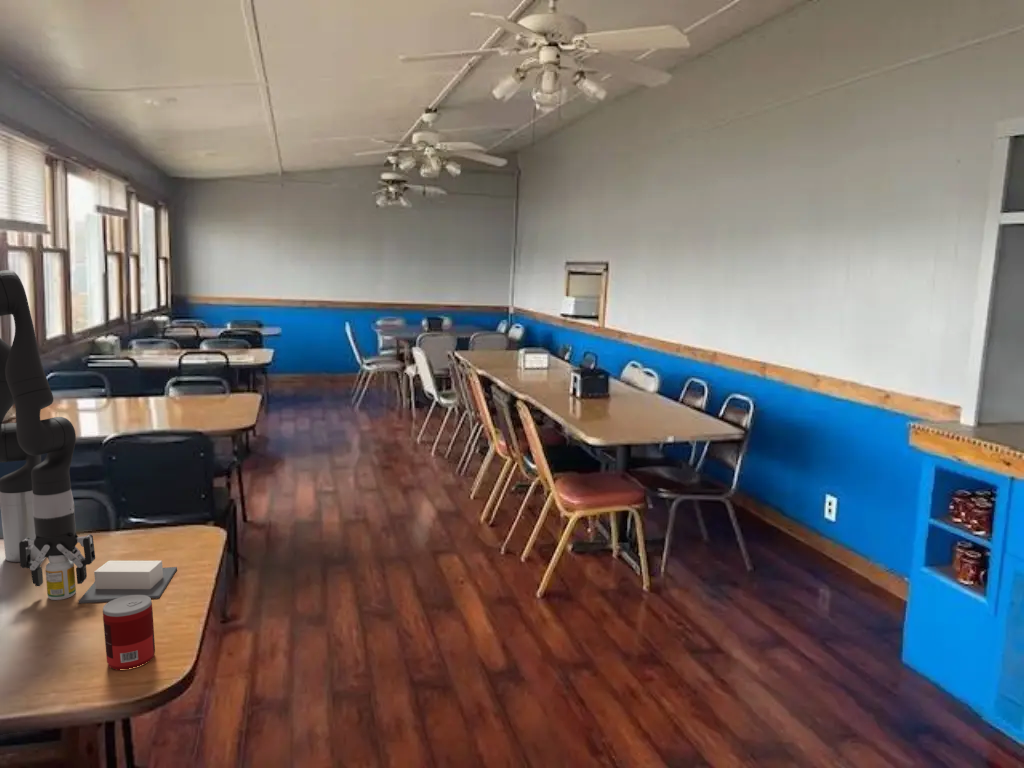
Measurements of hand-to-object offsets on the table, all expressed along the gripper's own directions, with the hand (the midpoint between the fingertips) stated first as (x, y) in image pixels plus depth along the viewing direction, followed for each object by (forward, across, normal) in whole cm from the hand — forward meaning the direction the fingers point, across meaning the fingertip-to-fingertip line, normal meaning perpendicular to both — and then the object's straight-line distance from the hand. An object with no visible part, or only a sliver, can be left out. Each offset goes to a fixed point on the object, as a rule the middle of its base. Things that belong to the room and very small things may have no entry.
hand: (60, 583), depth 167 cm
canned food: (+3, +23, -32) cm, 39 cm away
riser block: (+2, +13, +3) cm, 14 cm away
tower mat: (+3, +13, +3) cm, 14 cm away
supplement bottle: (+3, 0, 0) cm, 3 cm away
